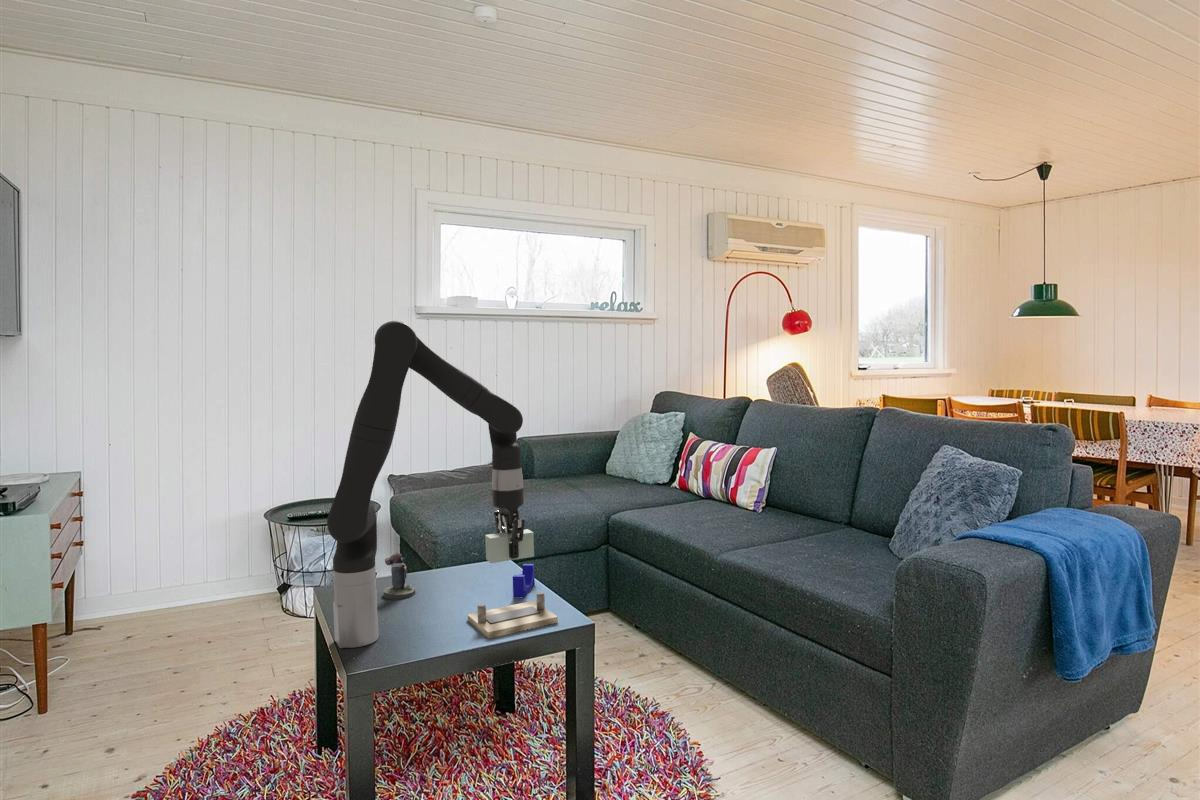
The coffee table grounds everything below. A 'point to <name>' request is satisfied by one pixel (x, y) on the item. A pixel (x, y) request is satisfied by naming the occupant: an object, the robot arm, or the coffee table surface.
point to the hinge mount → (512, 617)
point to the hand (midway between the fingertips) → (510, 555)
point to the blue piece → (523, 581)
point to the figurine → (398, 579)
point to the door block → (500, 546)
